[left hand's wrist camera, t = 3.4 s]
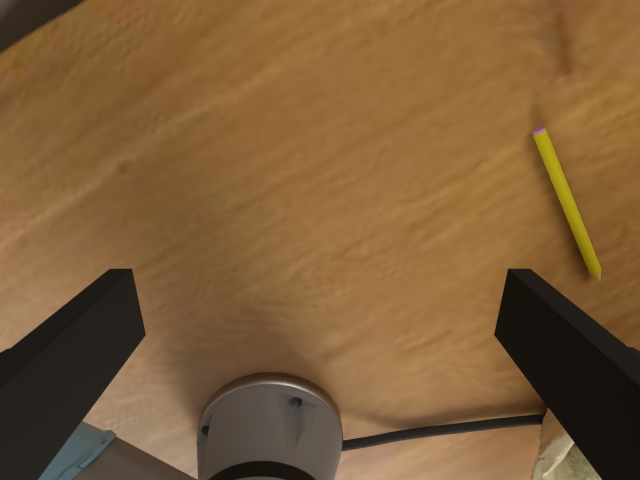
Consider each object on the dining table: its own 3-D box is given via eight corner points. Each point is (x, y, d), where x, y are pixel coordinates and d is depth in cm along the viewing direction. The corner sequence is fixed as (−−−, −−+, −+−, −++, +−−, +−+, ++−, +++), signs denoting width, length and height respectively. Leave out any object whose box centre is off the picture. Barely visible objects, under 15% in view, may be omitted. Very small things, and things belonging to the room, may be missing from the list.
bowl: (618, 361, 43) (697, 500, 38) (476, 406, 43) (537, 553, 38) (732, 357, 30) (876, 567, 25) (530, 421, 30) (633, 648, 25)
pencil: (528, 132, 30) (535, 133, 29) (540, 125, 30) (547, 126, 29) (591, 282, 35) (598, 287, 34) (600, 277, 34) (609, 282, 34)
